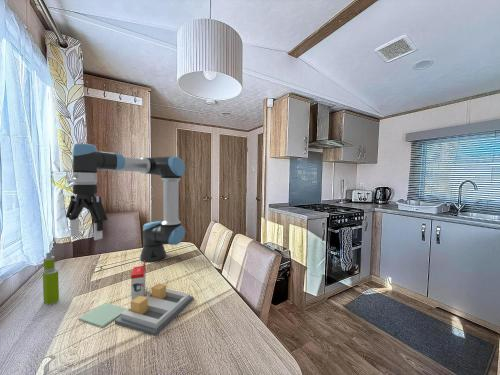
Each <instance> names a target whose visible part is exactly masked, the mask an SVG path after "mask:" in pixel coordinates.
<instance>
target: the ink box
mask: <svg viewBox="0 0 500 375" xmlns="http://www.w3.org/2000/svg"><path fill="white" fill-rule="evenodd" d="M130 275H131V276H130V285H131V286H130V288H131V294H130V295H131V296H130V298H131V299H130V302H131V301H132V300H134V299H135V298H137V297H138V296H143V297H146V262H145V260H144V262H143V265H140V266H139V265H138V266H134V267H133V268H132V271H131V274H130Z"/></svg>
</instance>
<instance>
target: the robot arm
mask: <svg viewBox="0 0 500 375" xmlns="http://www.w3.org/2000/svg"><path fill="white" fill-rule="evenodd" d="M71 164H72V165H71V167H72V169H71V170H72V176H71V177H72V183H73V185H72V195H70V201H69V205H68V208H67V211H66V214H65V218H66V219H67V218H68V220H69V223H70V224H69V225H70V226H69V227H70V229H69V230H70V237H75V236H79V235H80V219H79V218H80V215H81V212H82V211H83V209H84V208H85V209H87V210H88V211H89V213H90V215H91V217H92V218H93V220H94V222H93V240H94V241H99V240H101V239H103V238H104V237H103V230H104V227H103V226H104V224H103V223H104V222H106V221H108V217H107V214H106V211H105V208H104V206H103V203H102V198H101V196H95V194H98V184H97V183H98V171H114V172H115V171H116V172H117V171H118V172H136V173H137V172H138V173H141V174H147V175H152V176H153V175H154V176H160V180H162V181H163V183H162V184H163V220H162V221H161V220H157V221H151V222H146V223H144V224H143V226H142V241H143V242H142V246H143V247H142V251H141V253H140V257H139V258H140V259H139V260H140V262H143V263H144V260H145V263H152V262H153V263H154V262H158V261H162V260H163V259H165V258H166V257H167V251H166V250H165V247H164V245H170V246H177V245H179V244H180V243H182V241H183V239H185V234H186V229H185V227H184V226H182V221H180V219H179V182H180V181H181V179H182V176H183V175H184V174H185V172H186V166H185V163H184V161H183V160H182V158H181V157H178V156H173V155H171V156H154V157H141V158H135V157H127V156H124V155H123V154H121V153H117V152H108V151H107V152H106V151H100V150H98V149H97V146H96V145H95V144H90V143H81V142H80V143H74V144H72V148H71Z"/></svg>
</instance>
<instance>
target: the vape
mask: <svg viewBox="0 0 500 375" xmlns="http://www.w3.org/2000/svg"><path fill="white" fill-rule="evenodd" d="M59 287H60V286H59V270H58V269H56V267H55V256H54V255H52V252H47V253H46V254H45V257H43V271H42V288H43V289H42V290H43V291H42V292H43V293H42V294H43V303H45V304H46V305H47V306H48V305H52V304H55V303H58V302H59V300H60V288H59Z"/></svg>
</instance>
